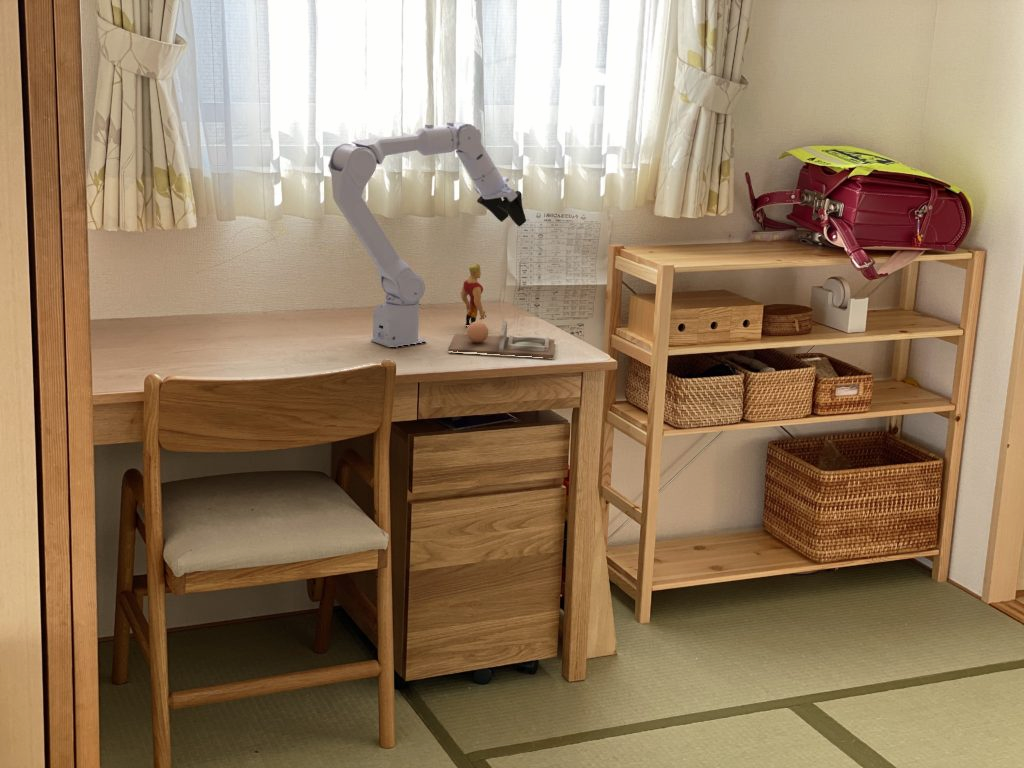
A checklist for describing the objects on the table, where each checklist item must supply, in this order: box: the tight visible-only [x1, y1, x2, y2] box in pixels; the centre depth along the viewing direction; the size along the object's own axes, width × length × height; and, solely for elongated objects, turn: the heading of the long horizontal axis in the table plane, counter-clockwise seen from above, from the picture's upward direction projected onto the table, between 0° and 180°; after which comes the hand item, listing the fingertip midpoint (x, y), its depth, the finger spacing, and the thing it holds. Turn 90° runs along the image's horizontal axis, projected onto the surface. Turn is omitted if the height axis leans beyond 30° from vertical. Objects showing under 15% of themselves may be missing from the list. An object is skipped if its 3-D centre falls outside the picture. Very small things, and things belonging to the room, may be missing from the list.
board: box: [447, 320, 556, 359], centre depth 256 cm, size 22×14×4 cm, turn 87°
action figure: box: [460, 263, 487, 325], centre depth 272 cm, size 10×4×15 cm, turn 25°
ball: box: [466, 321, 489, 343], centre depth 256 cm, size 5×5×5 cm
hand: (513, 221), depth 265 cm, fingers open, 7 cm apart
